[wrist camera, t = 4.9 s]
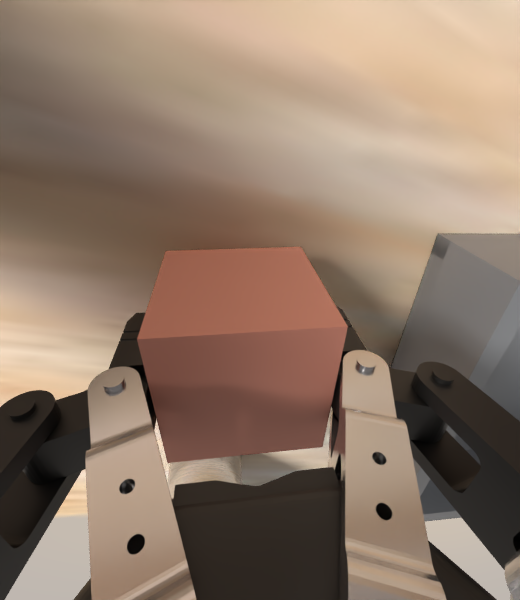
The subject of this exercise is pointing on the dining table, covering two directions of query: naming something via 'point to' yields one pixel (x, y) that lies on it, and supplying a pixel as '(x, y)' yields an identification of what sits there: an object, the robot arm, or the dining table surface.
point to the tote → (467, 329)
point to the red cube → (240, 352)
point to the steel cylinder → (205, 471)
